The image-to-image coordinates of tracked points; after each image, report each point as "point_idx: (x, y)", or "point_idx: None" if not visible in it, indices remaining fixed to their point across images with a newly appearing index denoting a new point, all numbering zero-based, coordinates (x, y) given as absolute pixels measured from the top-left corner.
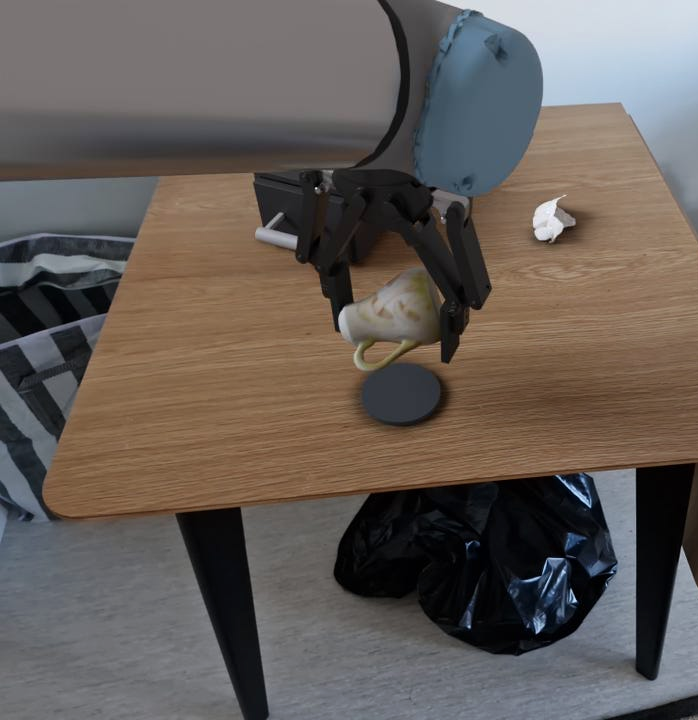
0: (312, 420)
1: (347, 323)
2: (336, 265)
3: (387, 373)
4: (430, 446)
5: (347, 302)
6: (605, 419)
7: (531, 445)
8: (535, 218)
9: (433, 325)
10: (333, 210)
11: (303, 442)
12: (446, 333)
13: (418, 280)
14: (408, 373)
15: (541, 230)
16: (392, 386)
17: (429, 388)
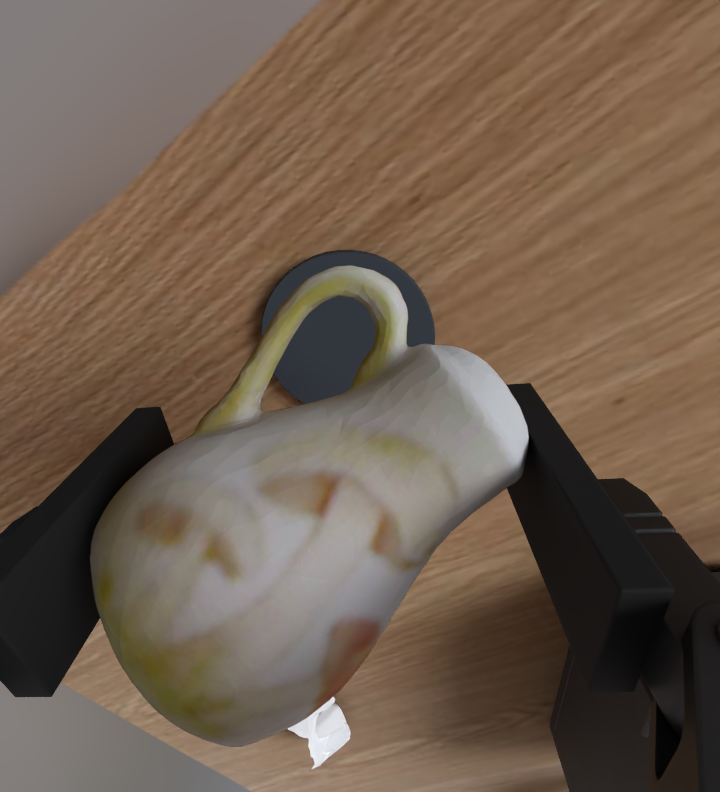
0: (502, 177)
1: (463, 397)
2: (645, 665)
3: None
4: (214, 240)
5: (525, 490)
6: (2, 440)
7: (55, 336)
8: (340, 721)
9: (109, 509)
10: None
11: (491, 95)
12: (58, 494)
13: (187, 705)
14: None
15: (322, 706)
16: (371, 346)
17: (299, 374)
